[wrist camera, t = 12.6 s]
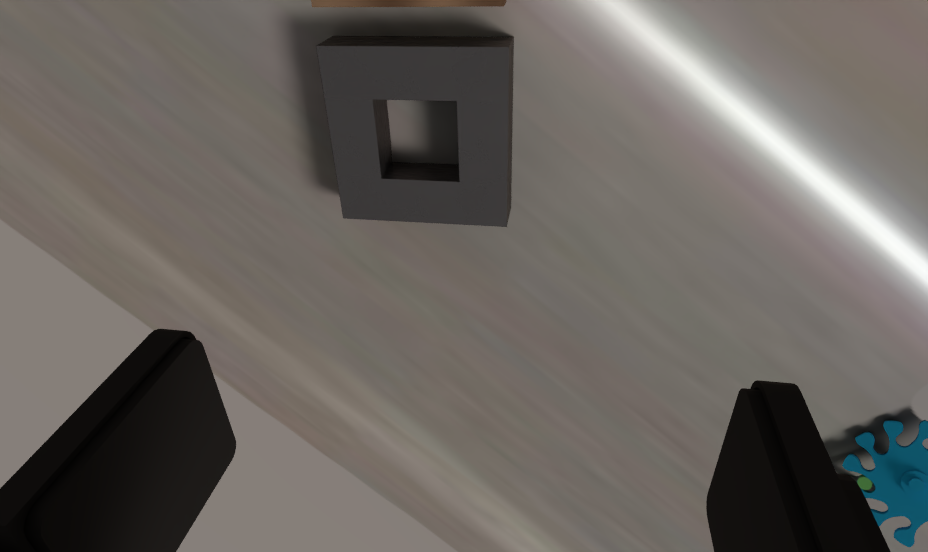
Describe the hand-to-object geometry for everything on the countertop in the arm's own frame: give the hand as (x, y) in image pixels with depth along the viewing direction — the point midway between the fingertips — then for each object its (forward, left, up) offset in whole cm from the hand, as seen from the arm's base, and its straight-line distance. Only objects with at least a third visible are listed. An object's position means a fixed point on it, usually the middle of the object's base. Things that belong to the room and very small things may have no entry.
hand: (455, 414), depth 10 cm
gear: (-31, +33, -33) cm, 56 cm away
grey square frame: (+8, +6, -32) cm, 34 cm away
